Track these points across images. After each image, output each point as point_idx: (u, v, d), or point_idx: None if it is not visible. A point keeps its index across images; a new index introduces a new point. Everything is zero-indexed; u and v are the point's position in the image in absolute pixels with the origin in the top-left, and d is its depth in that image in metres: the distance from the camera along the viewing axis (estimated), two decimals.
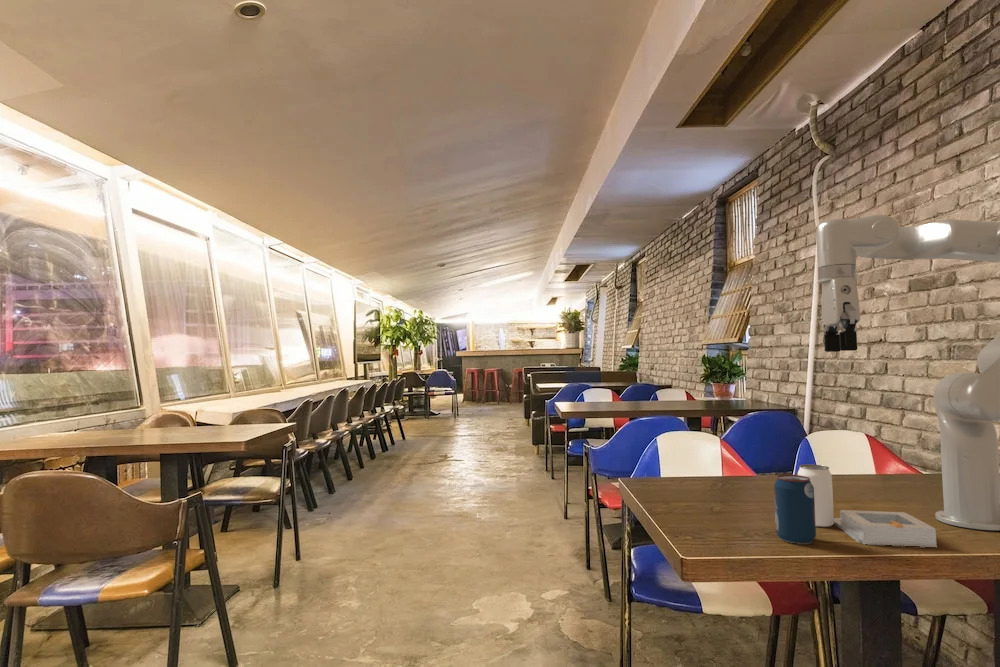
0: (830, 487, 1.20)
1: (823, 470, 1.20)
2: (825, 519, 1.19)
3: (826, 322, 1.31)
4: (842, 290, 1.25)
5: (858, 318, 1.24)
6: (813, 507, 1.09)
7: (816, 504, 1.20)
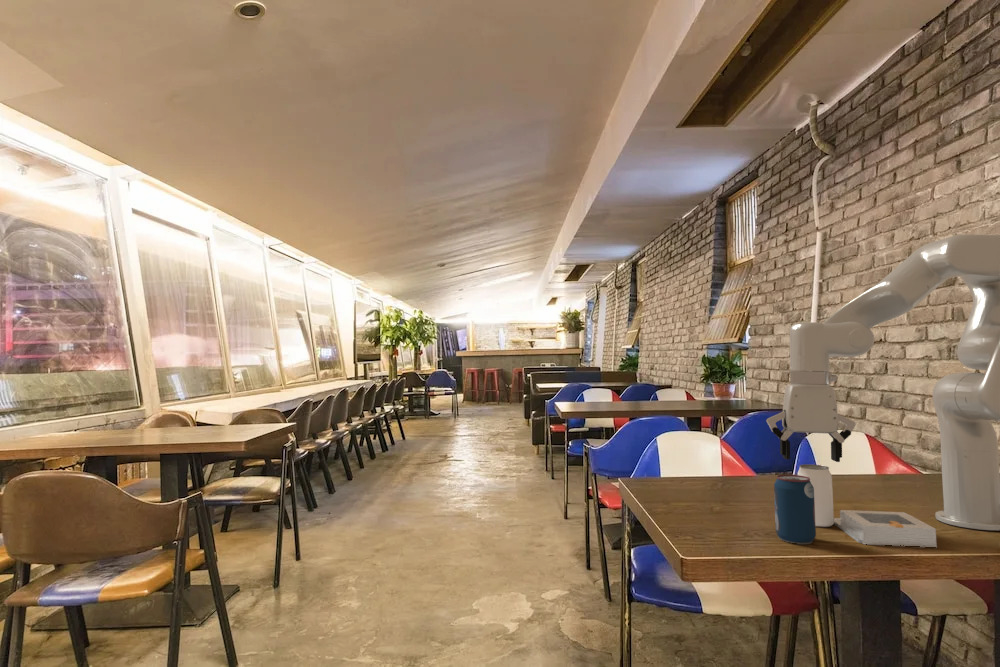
0: (830, 487, 1.20)
1: (823, 470, 1.20)
2: (825, 519, 1.19)
3: (804, 429, 1.22)
4: None
5: None
6: (813, 507, 1.09)
7: (816, 504, 1.20)
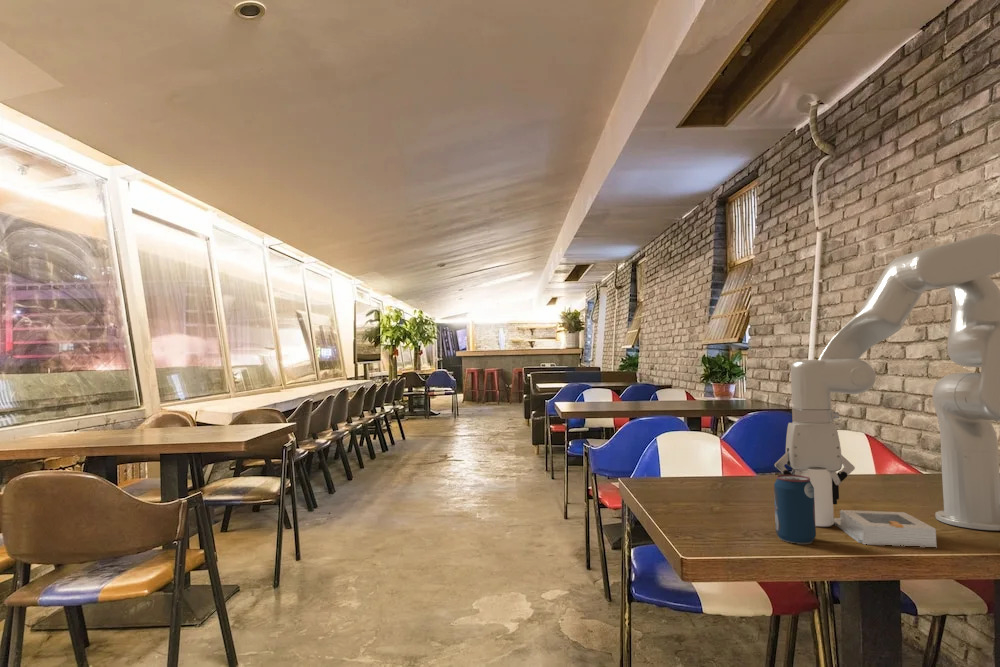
0: (830, 487, 1.20)
1: (823, 470, 1.20)
2: (825, 519, 1.19)
3: None
4: None
5: None
6: (813, 507, 1.09)
7: (816, 504, 1.20)
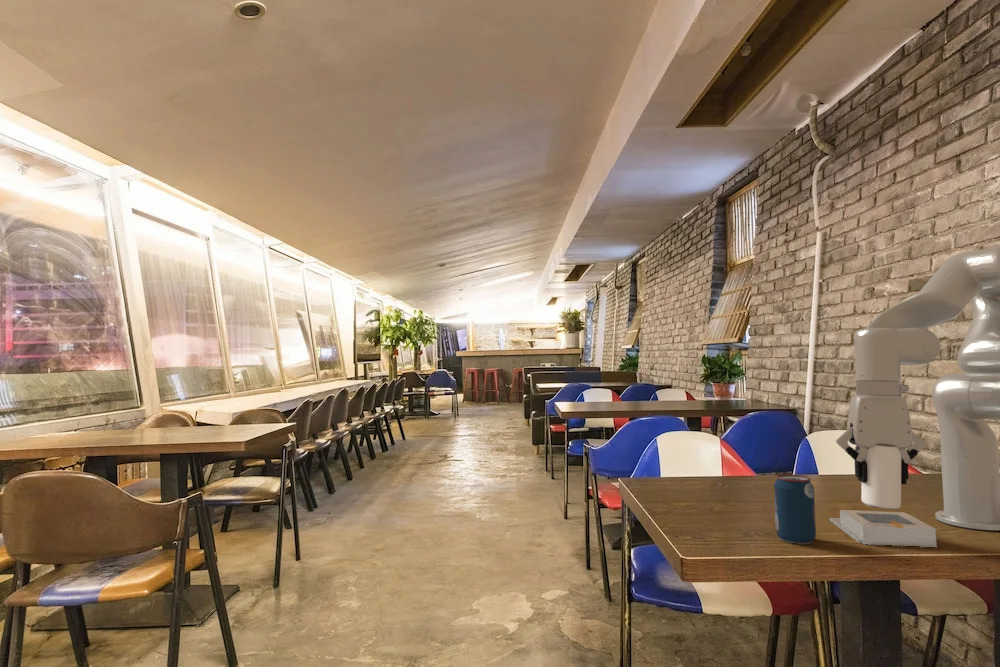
0: (899, 466, 1.10)
1: (893, 447, 1.10)
2: (893, 500, 1.09)
3: (875, 444, 1.12)
4: None
5: None
6: (813, 507, 1.09)
7: (883, 484, 1.10)
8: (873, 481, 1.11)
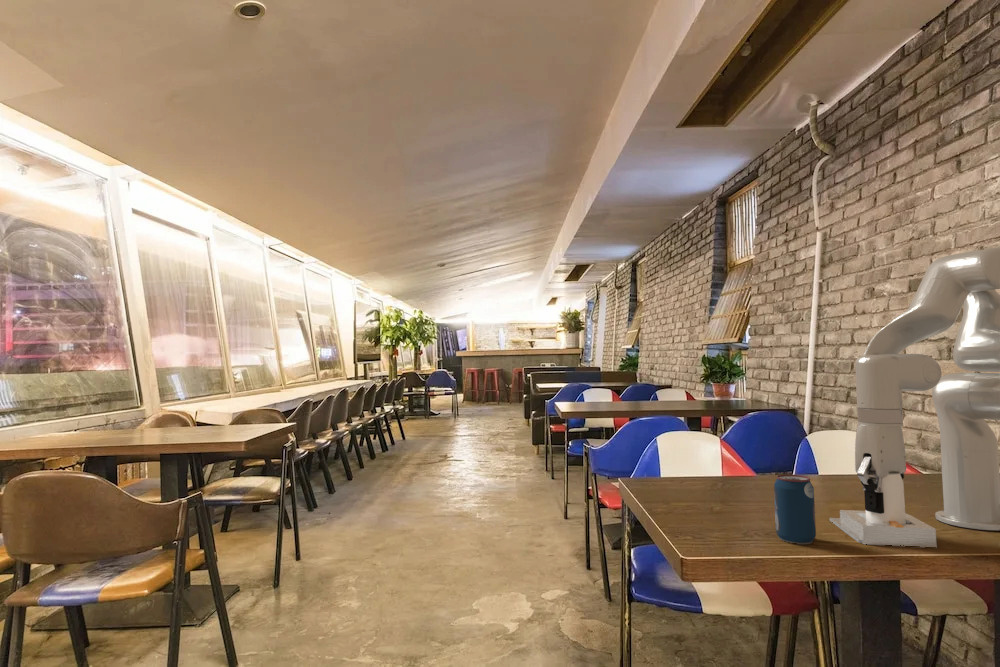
0: None
1: (899, 474, 1.11)
2: None
3: None
4: None
5: None
6: (813, 507, 1.09)
7: (899, 512, 1.09)
8: (891, 511, 1.09)
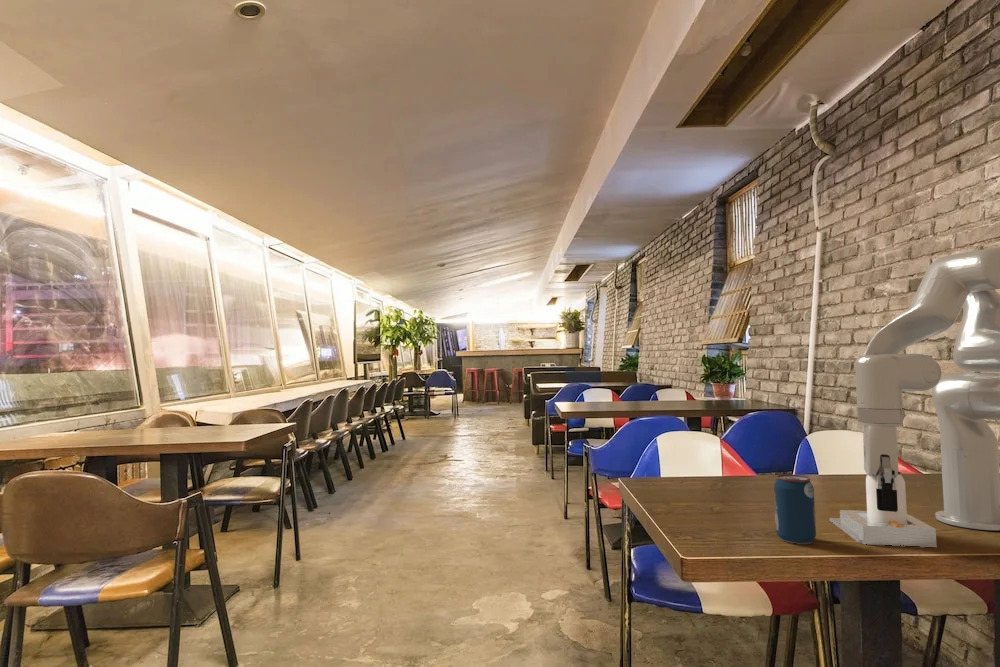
0: None
1: None
2: None
3: None
4: None
5: None
6: (813, 507, 1.09)
7: (906, 512, 1.10)
8: (902, 512, 1.09)
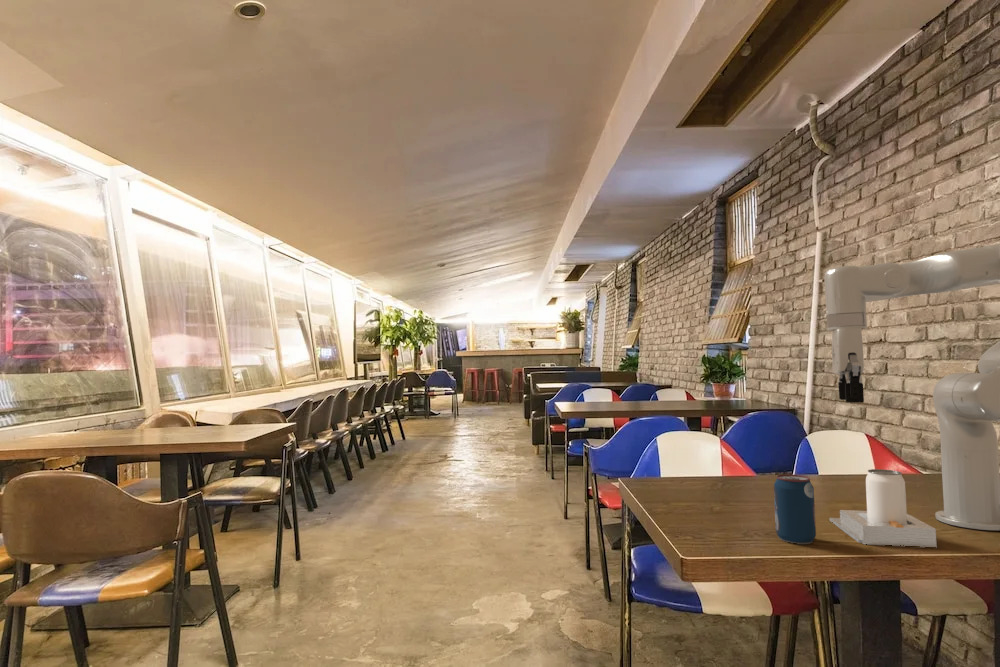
0: None
1: None
2: None
3: None
4: None
5: None
6: (813, 507, 1.09)
7: (906, 512, 1.10)
8: (902, 512, 1.09)
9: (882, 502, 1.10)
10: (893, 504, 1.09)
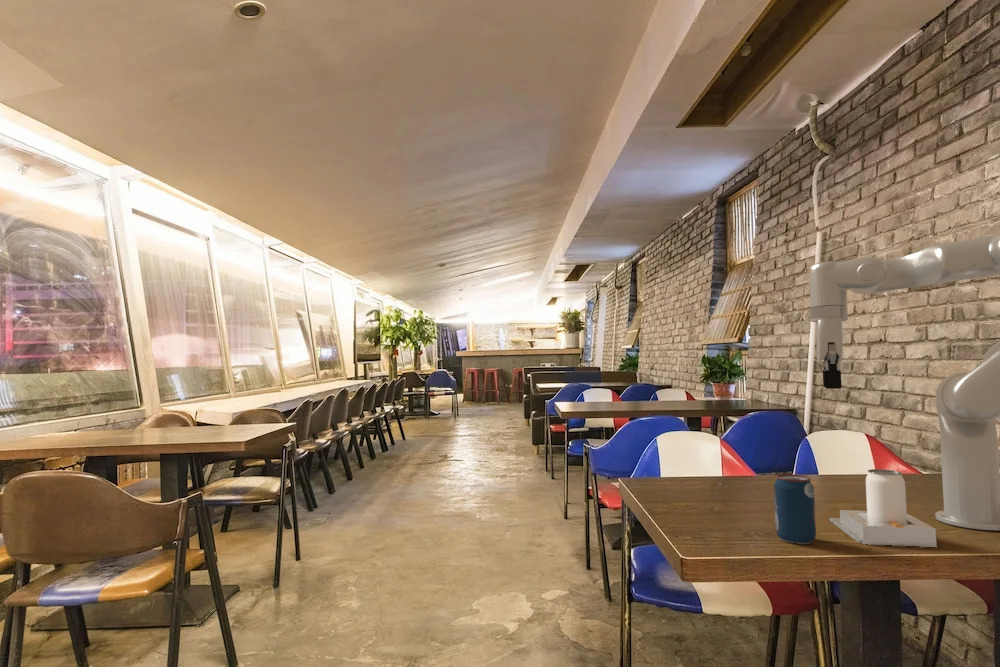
0: None
1: None
2: None
3: None
4: None
5: None
6: (813, 507, 1.09)
7: (906, 512, 1.10)
8: (902, 512, 1.09)
9: (882, 502, 1.10)
10: (893, 504, 1.09)
